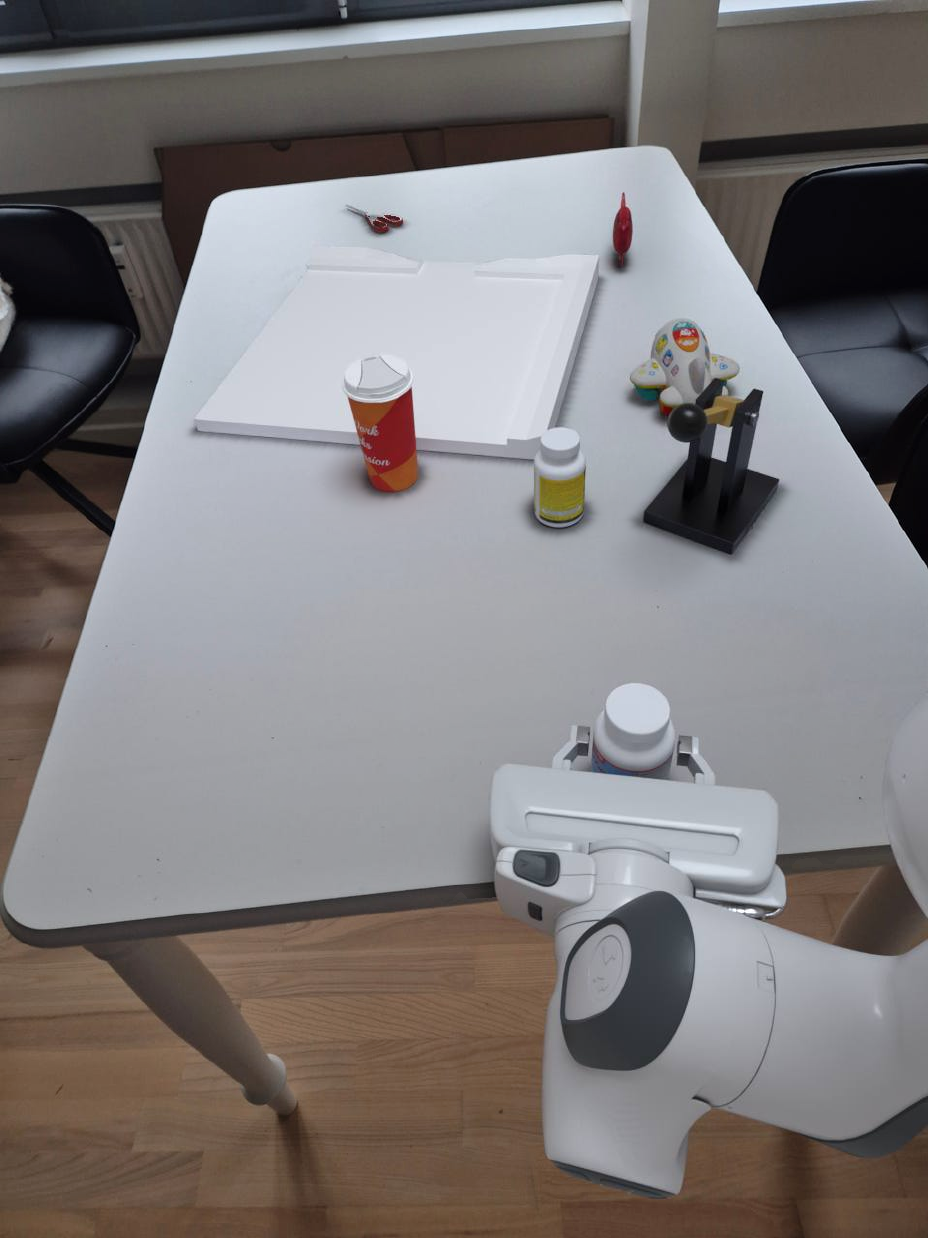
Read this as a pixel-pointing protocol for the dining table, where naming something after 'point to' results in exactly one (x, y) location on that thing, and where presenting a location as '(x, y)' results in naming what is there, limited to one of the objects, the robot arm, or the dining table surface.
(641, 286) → the dining table surface
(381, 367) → the paper cup
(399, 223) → the scissors
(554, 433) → the supplement bottle
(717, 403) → the lever with black knob
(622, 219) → the decorative bird figurine
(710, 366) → the toy airplane
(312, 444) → the dining table surface
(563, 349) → the tray
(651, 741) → the pill bottle
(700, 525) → the black lever stand
